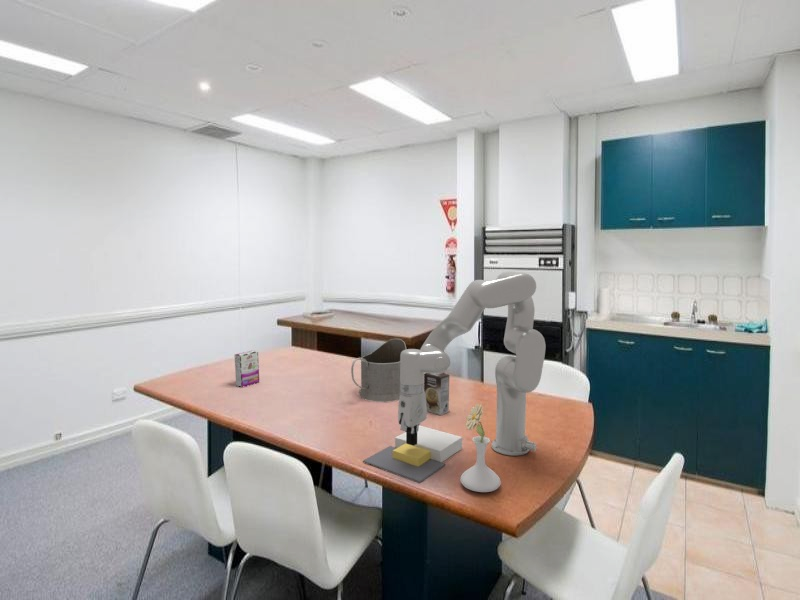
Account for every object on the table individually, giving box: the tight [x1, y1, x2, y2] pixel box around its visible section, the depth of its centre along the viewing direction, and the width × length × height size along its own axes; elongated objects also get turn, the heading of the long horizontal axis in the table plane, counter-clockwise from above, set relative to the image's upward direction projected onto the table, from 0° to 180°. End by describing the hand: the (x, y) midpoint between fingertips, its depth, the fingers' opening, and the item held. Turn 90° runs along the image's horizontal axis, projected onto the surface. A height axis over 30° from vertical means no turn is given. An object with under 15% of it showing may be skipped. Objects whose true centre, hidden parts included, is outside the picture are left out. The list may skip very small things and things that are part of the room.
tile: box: [393, 443, 431, 466], centre depth 147 cm, size 10×7×2 cm
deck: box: [394, 424, 463, 463], centre depth 155 cm, size 18×14×4 cm
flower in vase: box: [459, 403, 502, 493], centre depth 128 cm, size 13×11×25 cm
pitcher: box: [350, 338, 407, 403], centre depth 212 cm, size 23×32×25 cm
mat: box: [362, 445, 446, 484], centre depth 144 cm, size 22×14×1 cm, turn 53°
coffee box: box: [424, 373, 450, 416], centre depth 192 cm, size 9×6×16 cm
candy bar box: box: [234, 350, 260, 388], centre depth 232 cm, size 11×5×16 cm, turn 147°
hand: (411, 443), depth 147 cm, fingers closed
